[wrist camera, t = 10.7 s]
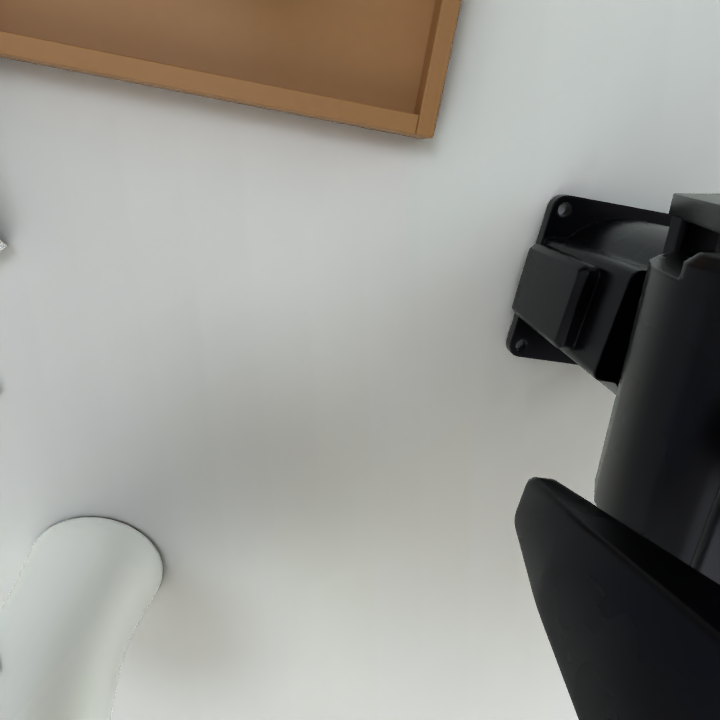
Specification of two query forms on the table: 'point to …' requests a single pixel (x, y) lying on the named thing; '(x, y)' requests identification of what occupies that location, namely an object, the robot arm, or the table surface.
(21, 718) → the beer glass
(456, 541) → the table surface
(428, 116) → the brown flat rectangular frame
